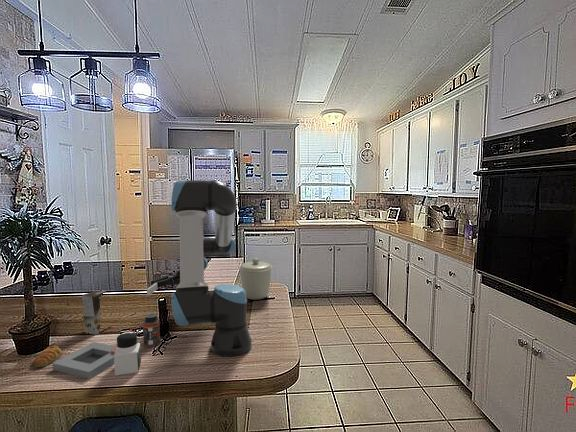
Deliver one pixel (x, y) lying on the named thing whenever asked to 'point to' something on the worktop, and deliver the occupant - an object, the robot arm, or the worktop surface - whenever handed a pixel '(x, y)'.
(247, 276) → the canister
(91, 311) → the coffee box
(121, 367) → the medicine bottle
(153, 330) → the supplement bottle
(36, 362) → the pastry
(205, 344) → the worktop surface
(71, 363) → the socket plate
